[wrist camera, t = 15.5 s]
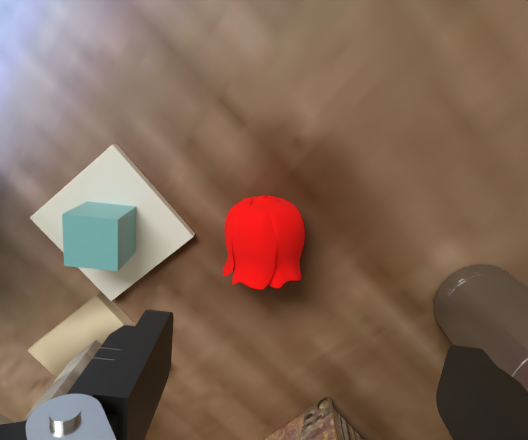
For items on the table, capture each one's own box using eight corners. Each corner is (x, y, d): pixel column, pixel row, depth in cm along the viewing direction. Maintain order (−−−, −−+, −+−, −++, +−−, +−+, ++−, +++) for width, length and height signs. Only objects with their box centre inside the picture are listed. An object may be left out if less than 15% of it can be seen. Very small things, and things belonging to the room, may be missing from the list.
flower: (323, 201, 36) (317, 284, 38) (284, 187, 43) (281, 258, 45) (240, 206, 33) (238, 296, 35) (213, 190, 40) (213, 266, 42)
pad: (195, 233, 42) (193, 236, 41) (114, 296, 45) (110, 301, 44) (116, 143, 40) (112, 144, 39) (35, 215, 42) (29, 217, 41)
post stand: (168, 358, 47) (135, 436, 36) (101, 405, 49) (51, 494, 38) (101, 289, 44) (44, 350, 33) (35, 342, 47) (-40, 417, 35)
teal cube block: (136, 206, 41) (117, 219, 36) (135, 252, 42) (117, 271, 37) (87, 201, 41) (62, 214, 36) (88, 247, 42) (64, 265, 37)
